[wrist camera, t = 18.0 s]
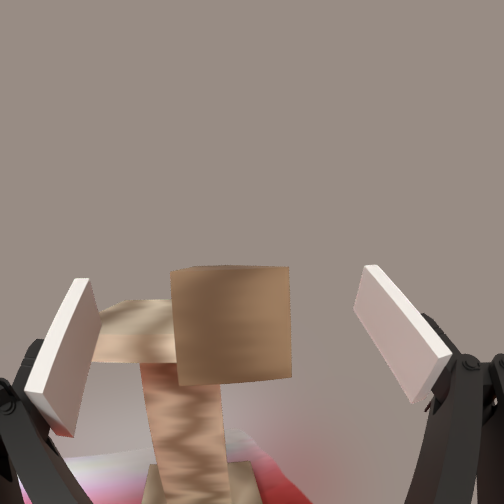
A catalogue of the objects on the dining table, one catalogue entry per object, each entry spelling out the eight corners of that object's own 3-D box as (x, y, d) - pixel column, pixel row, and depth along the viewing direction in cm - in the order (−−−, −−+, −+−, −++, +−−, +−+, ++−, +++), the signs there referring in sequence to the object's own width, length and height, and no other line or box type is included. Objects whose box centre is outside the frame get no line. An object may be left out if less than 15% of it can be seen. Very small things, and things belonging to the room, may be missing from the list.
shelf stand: (134, 571, 18) (54, 328, 19) (152, 473, 39) (124, 298, 40) (280, 567, 20) (280, 323, 21) (250, 469, 42) (241, 294, 43)
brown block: (179, 385, 10) (170, 271, 10) (196, 299, 38) (194, 266, 38) (291, 377, 11) (288, 266, 11) (229, 297, 38) (227, 265, 38)
